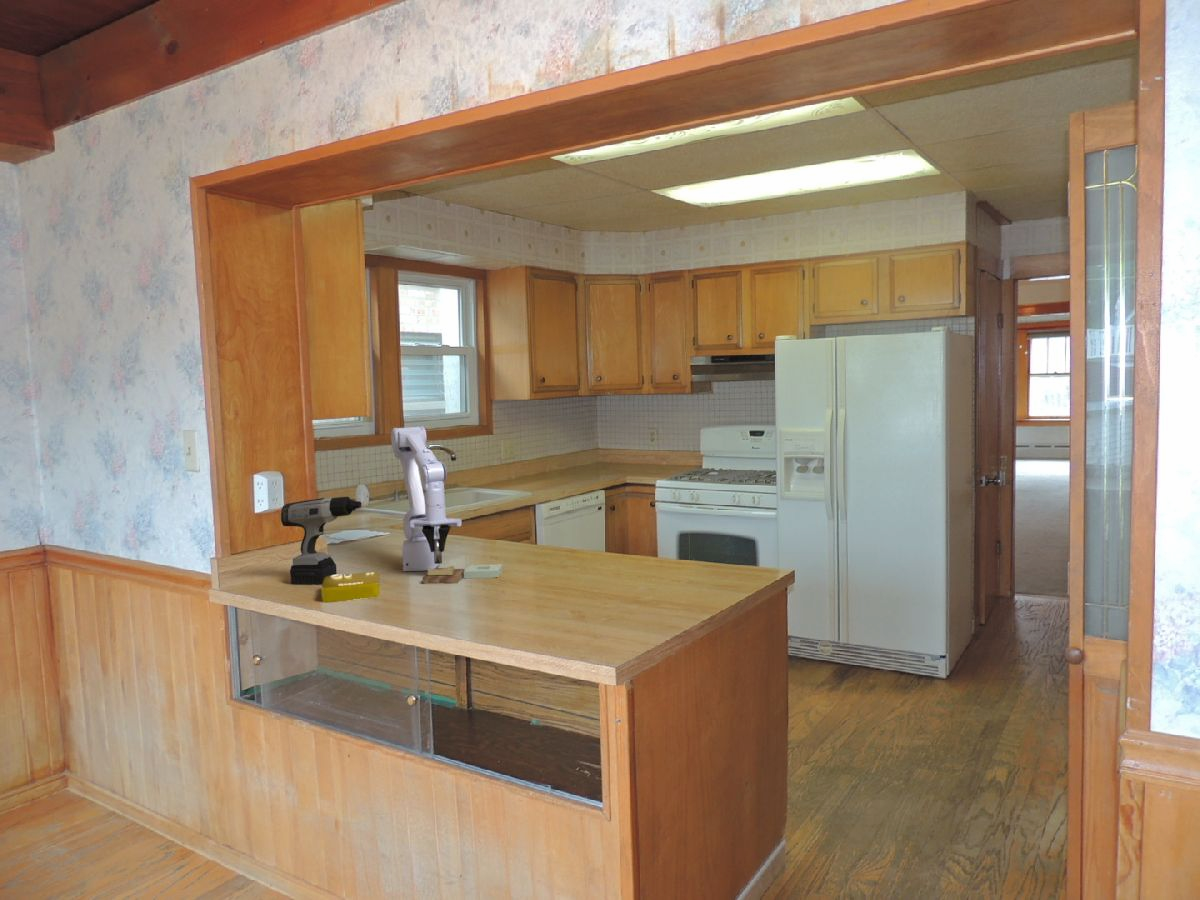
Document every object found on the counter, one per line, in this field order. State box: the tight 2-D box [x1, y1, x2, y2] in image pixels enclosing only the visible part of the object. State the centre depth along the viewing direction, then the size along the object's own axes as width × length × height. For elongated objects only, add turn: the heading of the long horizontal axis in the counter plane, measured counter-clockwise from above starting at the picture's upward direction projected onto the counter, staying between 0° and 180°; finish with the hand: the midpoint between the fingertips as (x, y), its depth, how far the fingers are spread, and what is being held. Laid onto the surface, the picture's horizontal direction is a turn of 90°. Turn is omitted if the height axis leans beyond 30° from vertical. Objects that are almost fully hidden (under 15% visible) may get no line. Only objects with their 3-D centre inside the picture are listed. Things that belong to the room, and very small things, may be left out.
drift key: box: [427, 565, 455, 575], centre depth 243 cm, size 7×2×2 cm, turn 87°
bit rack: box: [463, 563, 504, 579], centre depth 251 cm, size 10×8×2 cm
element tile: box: [320, 571, 381, 604], centre depth 235 cm, size 15×15×5 cm
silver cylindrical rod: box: [433, 537, 443, 564], centre depth 248 cm, size 2×2×7 cm
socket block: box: [422, 568, 466, 584], centre depth 247 cm, size 10×9×2 cm
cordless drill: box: [280, 496, 362, 585], centre depth 249 cm, size 8×24×25 cm, turn 78°
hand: (437, 551), depth 248 cm, fingers closed on silver cylindrical rod, 2 cm apart
